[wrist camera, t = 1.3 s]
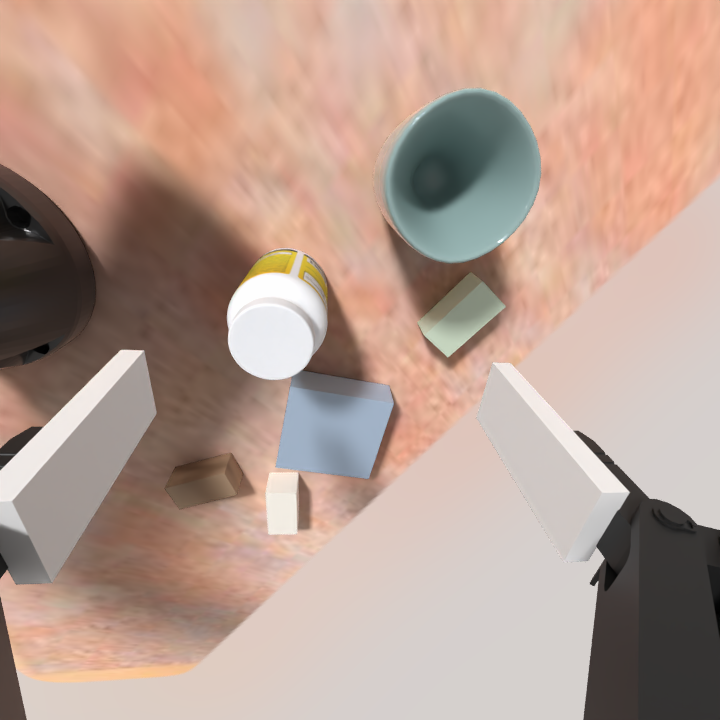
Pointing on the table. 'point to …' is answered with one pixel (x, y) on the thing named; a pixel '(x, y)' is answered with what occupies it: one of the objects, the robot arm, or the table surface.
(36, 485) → the robot arm
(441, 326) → the sage brick
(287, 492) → the cream brick
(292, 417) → the slab
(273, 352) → the pill bottle
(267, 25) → the table surface
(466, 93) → the cup
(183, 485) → the walnut brick
